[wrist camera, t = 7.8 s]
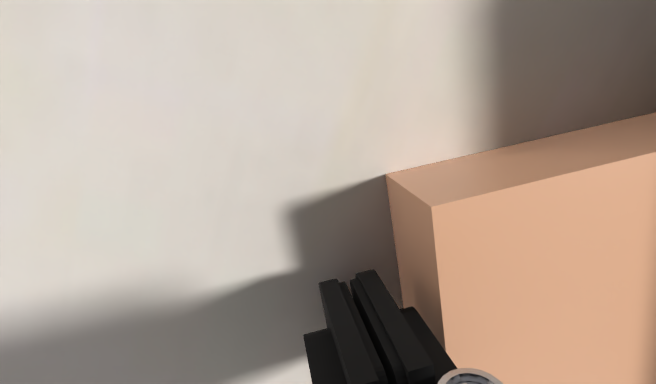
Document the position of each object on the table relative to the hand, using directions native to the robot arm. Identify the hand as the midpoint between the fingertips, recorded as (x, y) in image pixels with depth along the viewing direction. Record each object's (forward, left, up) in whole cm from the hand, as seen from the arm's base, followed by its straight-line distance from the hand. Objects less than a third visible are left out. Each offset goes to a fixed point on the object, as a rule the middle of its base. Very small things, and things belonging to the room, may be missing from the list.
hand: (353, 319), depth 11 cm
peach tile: (+1, +9, -2) cm, 9 cm away
